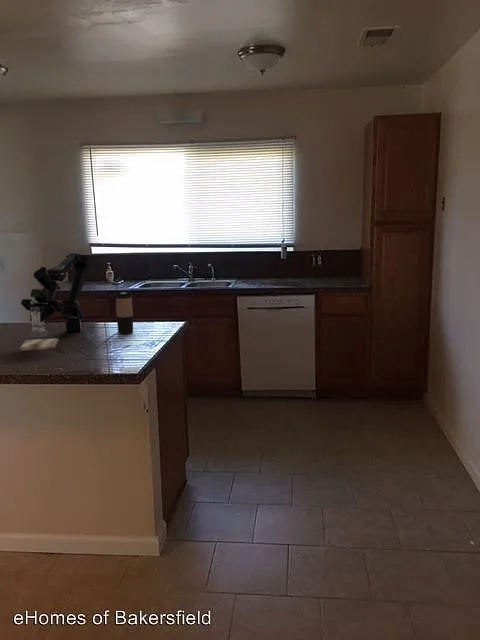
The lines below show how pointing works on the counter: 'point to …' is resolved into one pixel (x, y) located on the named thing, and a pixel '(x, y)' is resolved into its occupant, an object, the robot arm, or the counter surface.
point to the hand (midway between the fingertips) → (35, 321)
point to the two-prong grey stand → (35, 326)
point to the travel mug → (124, 312)
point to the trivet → (39, 344)
